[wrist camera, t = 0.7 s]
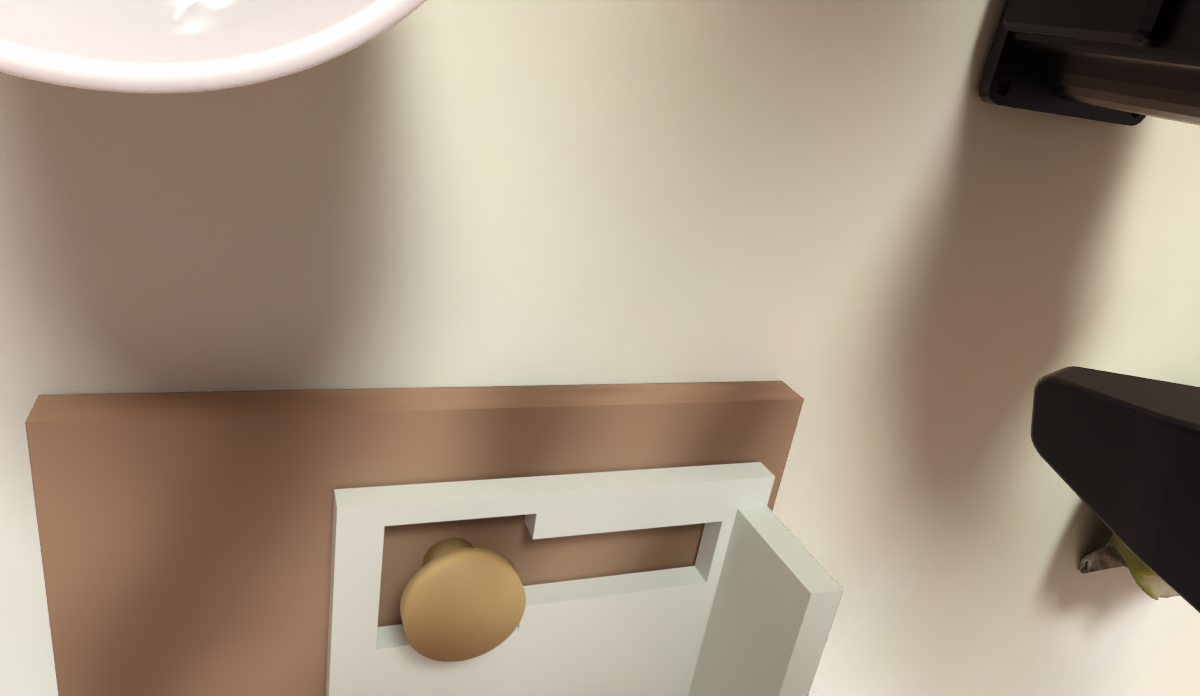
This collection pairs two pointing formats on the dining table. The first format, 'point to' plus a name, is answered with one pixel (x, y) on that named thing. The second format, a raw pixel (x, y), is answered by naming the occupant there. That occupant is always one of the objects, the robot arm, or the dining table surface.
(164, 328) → the dining table surface
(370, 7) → the white cup
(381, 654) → the panel
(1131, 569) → the fruit
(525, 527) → the board
